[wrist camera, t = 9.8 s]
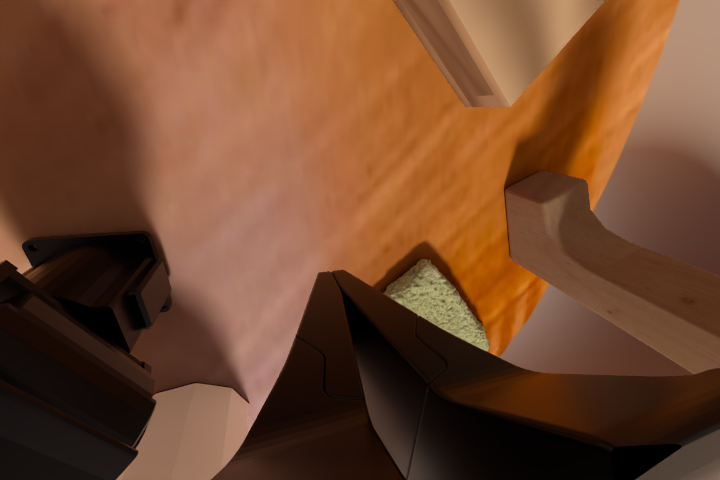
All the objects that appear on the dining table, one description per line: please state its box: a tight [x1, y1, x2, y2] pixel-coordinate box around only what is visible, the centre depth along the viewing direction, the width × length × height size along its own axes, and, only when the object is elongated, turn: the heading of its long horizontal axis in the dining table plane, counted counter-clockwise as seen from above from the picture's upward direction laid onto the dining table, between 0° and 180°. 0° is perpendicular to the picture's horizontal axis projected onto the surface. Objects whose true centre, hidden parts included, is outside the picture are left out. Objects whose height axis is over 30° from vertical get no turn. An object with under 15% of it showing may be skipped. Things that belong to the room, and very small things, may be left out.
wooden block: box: [505, 171, 720, 374], centre depth 21 cm, size 9×4×18 cm, turn 21°
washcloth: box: [383, 259, 490, 352], centre depth 30 cm, size 13×18×3 cm
